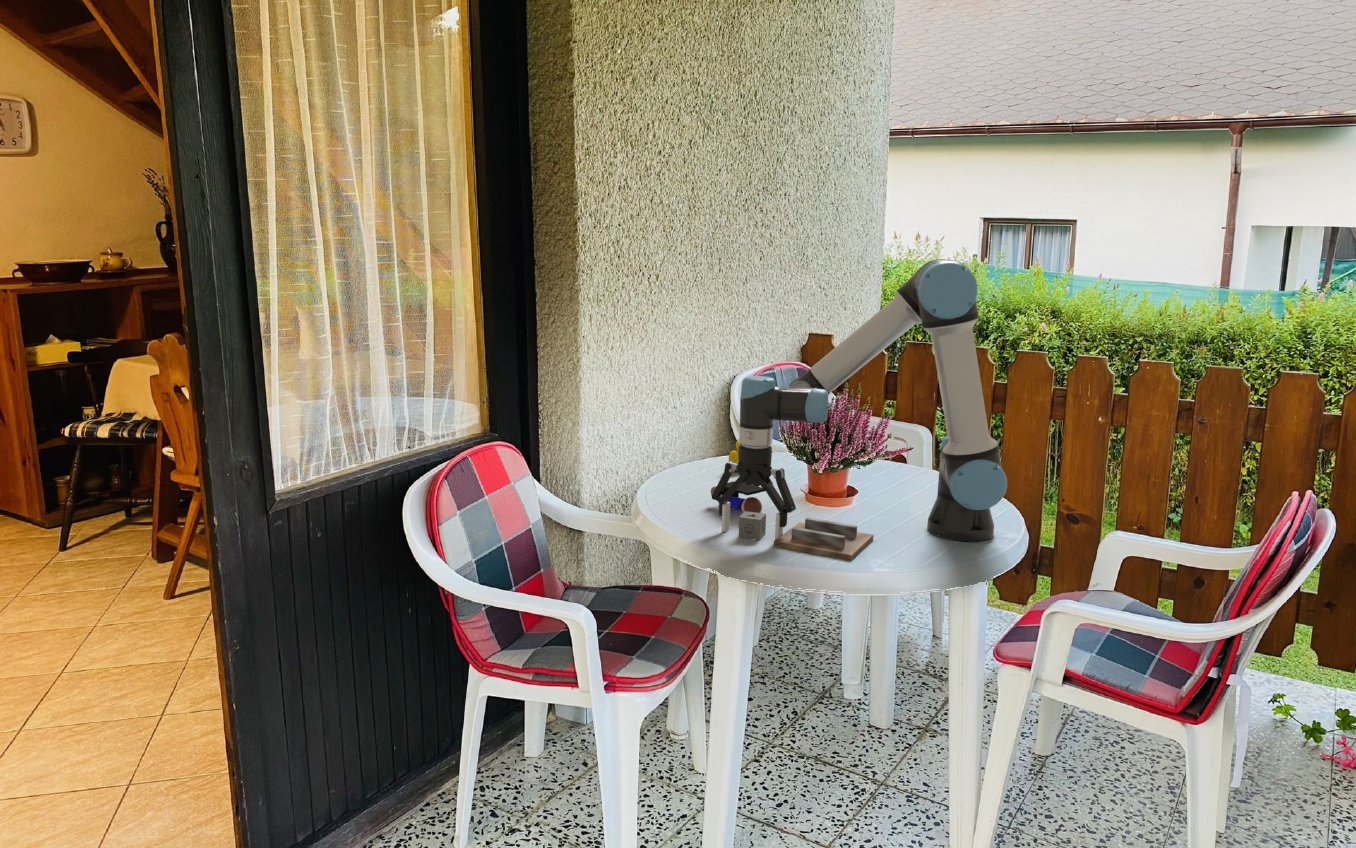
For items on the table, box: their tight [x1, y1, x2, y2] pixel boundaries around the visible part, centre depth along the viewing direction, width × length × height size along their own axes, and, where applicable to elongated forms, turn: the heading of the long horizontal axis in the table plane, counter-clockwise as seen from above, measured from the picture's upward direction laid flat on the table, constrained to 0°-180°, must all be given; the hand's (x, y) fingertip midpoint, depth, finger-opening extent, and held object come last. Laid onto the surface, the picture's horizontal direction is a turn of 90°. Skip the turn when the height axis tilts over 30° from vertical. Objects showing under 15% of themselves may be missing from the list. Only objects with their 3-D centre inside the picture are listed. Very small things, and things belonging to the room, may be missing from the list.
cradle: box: [773, 517, 874, 561], centre depth 212 cm, size 18×16×4 cm
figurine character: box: [710, 480, 766, 514], centre depth 234 cm, size 7×8×15 cm
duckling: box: [728, 438, 741, 472], centre depth 274 cm, size 11×5×10 cm, turn 139°
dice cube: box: [738, 511, 767, 541], centre depth 216 cm, size 5×5×5 cm
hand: (751, 535), depth 216 cm, fingers open, 13 cm apart
